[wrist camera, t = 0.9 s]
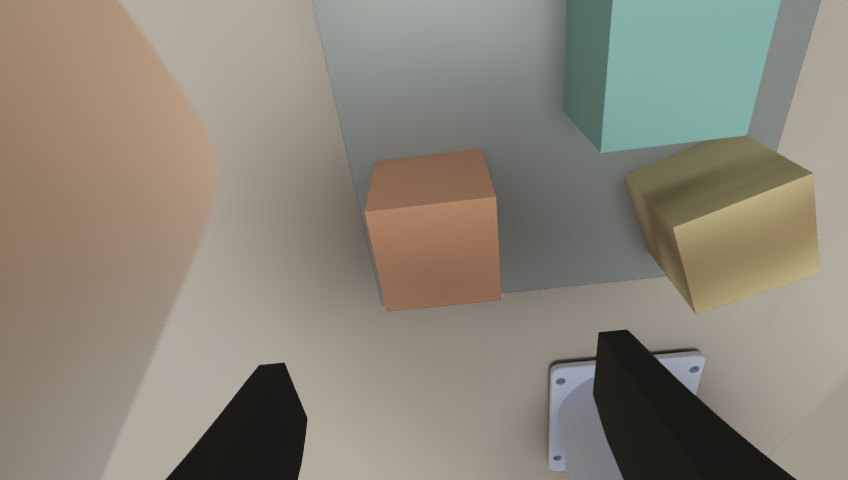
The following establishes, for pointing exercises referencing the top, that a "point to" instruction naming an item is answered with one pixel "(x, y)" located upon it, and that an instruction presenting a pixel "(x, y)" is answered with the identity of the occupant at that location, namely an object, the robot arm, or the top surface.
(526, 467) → the top surface
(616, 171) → the baseplate
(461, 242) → the cube brick
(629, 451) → the robot arm
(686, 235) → the brick
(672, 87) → the base brick
